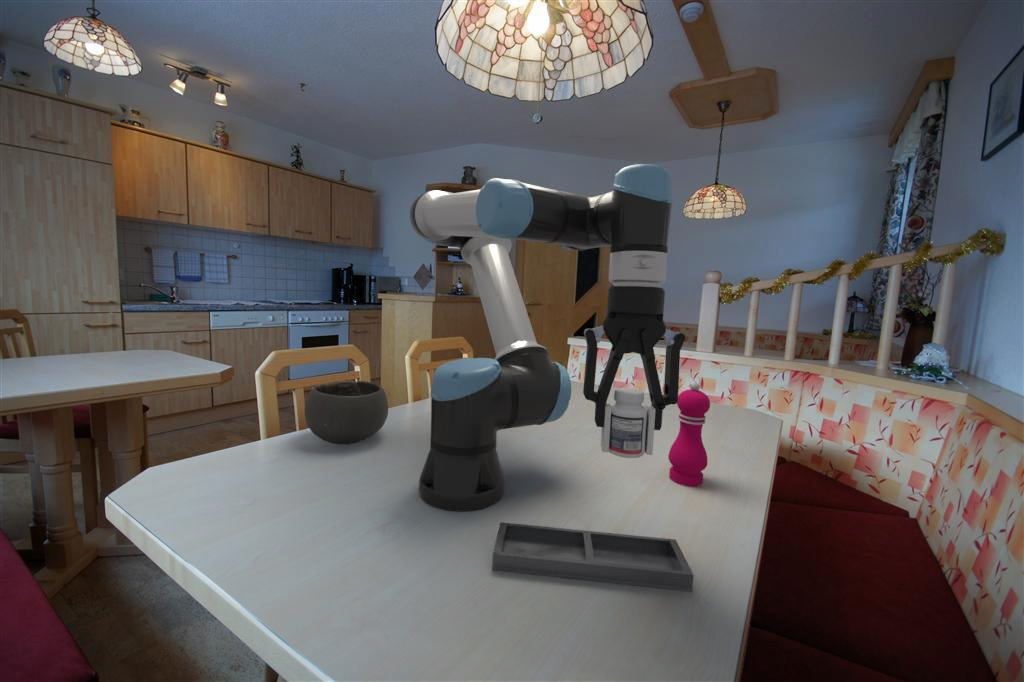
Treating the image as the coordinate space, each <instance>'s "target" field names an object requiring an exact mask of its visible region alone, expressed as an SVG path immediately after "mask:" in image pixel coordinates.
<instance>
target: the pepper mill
mask: <svg viewBox="0 0 1024 682" xmlns="http://www.w3.org/2000/svg"><path fill="white" fill-rule="evenodd" d="M689 388H690V389H685V390H683V391H681V392H680V393H678V402H677V403H676V406H677V408H678V409H679V412H678V413H677V414H678V417H677V420H678V421H679V430H678V434H677V436H676V438H675V440H674V442H673V443H672V445H671V447H670V448H669V452H668V461H669V463H670V465H671V467H670V468H669V474H668V476H669V478H670V480H671V481H673V482H675V483H676V484H679V485H681V486H685V487H686V486H687V487H700V486H702V484H703V481H704V473H703V472H702V471H704V470H705V469H706V468H707V466H708V455H707V451H706V448H705V446H704V442H703V439H702V430H703V425H705V424H706V419H707V417H706V415H705V414H707V412H709V410H710V408H711V401H710V399H709V396H708V395H707V394H706V393H705V392H703V391H701V390H700V389H701V386H700V384H699V383H698V382H695V381H693V382H692V383H690V385H689Z"/></svg>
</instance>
